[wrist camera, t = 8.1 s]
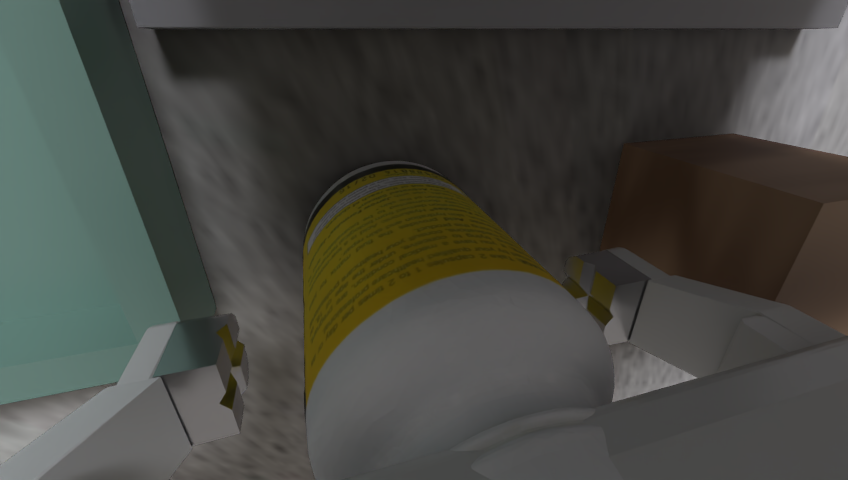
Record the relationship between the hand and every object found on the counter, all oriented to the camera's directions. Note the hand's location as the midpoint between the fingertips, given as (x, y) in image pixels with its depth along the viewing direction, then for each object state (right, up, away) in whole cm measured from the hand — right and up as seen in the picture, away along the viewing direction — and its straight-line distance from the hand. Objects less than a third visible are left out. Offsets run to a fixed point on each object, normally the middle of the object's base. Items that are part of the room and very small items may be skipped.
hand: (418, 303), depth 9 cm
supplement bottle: (-1, +2, +3) cm, 4 cm away
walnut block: (+10, +3, +6) cm, 12 cm away
